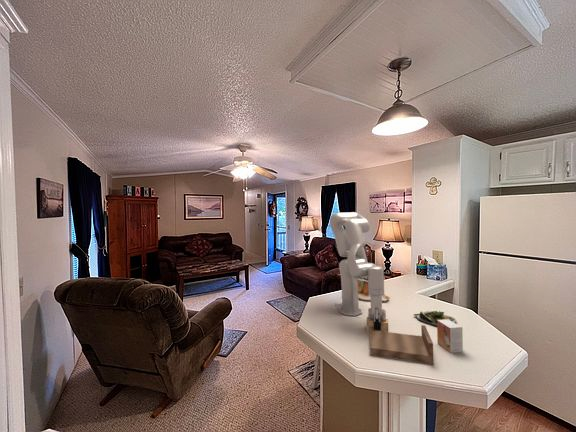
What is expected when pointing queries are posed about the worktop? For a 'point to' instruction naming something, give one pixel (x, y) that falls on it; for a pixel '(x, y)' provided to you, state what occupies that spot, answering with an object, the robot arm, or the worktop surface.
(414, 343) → the walnut shelf
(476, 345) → the worktop surface
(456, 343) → the small box
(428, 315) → the salad plate
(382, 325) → the salt and pepper set
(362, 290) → the religious ornament
